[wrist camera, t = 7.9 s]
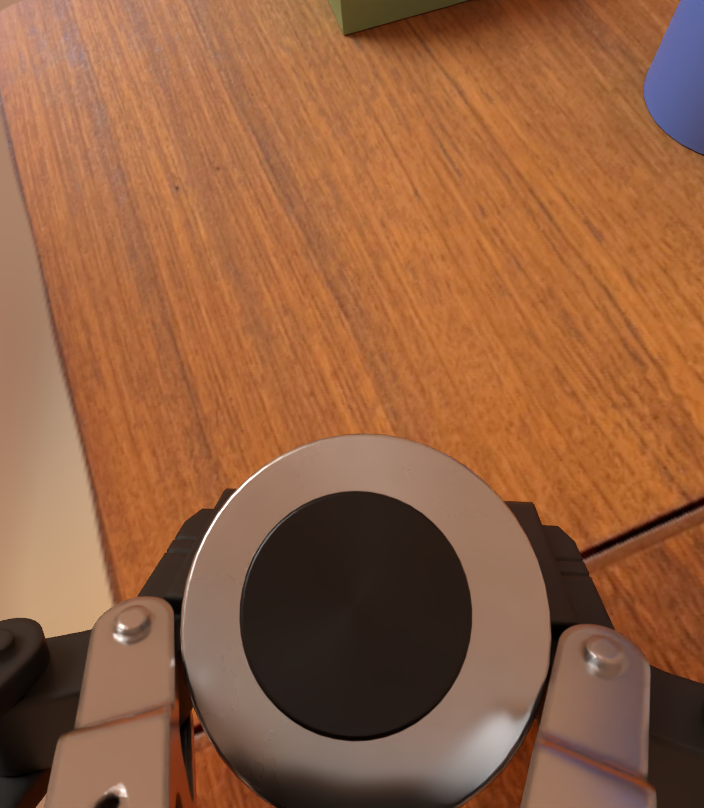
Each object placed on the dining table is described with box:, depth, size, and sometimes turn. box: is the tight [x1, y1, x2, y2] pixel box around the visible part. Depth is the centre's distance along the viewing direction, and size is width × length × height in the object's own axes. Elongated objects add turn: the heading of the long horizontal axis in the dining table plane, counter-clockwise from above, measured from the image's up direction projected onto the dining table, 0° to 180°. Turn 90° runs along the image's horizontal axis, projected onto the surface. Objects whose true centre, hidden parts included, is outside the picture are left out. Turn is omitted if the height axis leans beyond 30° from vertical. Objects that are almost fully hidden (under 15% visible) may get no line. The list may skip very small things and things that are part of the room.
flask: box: [180, 433, 551, 808], centre depth 11 cm, size 5×5×10 cm
